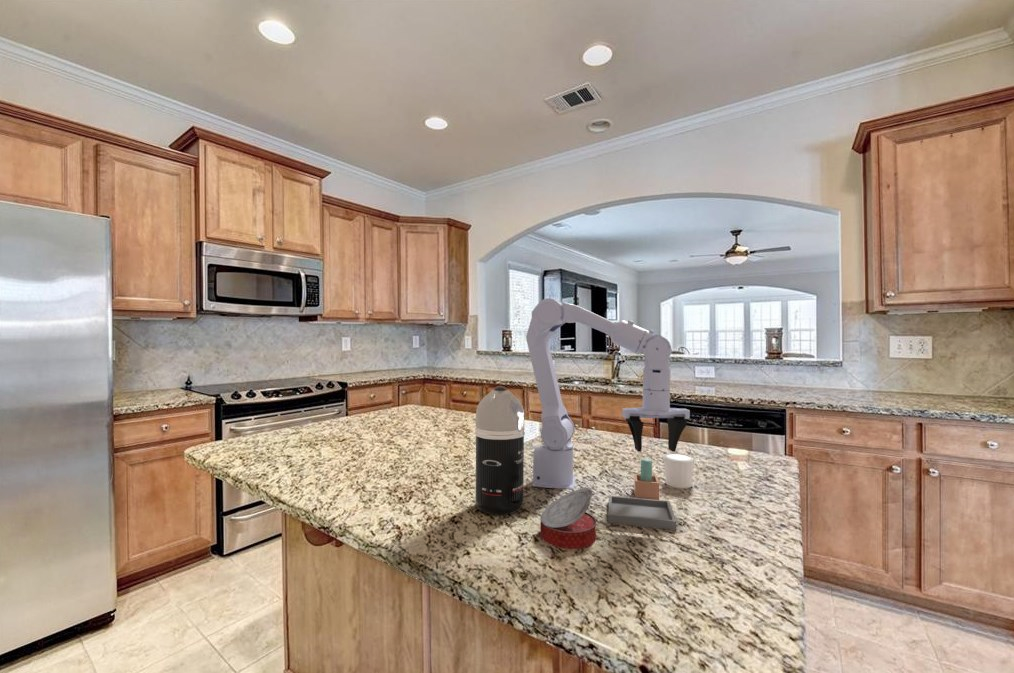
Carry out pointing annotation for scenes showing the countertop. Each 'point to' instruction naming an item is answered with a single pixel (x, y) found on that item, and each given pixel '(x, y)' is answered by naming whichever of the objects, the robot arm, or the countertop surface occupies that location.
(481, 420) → the black bottle
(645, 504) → the tray
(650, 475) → the pin
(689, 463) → the white short cylinder
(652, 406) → the robot arm
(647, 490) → the open box
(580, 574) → the countertop surface
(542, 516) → the canned food
